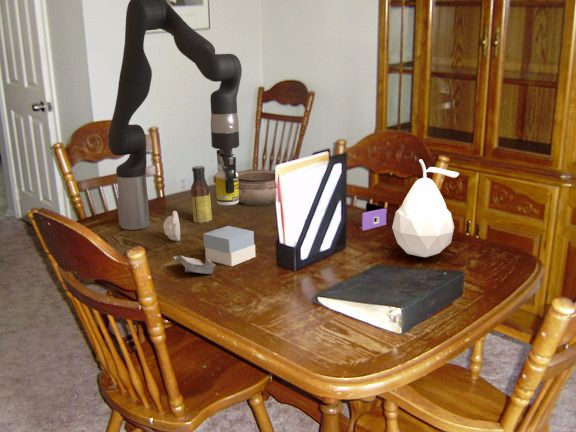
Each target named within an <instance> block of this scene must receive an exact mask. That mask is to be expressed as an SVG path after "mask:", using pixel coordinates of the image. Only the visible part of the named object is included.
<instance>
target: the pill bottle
mask: <svg viewBox="0 0 576 432" xmlns="http://www.w3.org/2000/svg"><path fill="white" fill-rule="evenodd" d="M224 167H225V166H224ZM225 168H226V167H225ZM218 170H219V171H218ZM238 173H239V172H237V171H236V178H235V179H234V193H226V186H225V174H224V172H223V171H222V166H221V163H220V164H218V163H217V172H216V173H215V194H216V203H217V204H218V205H221V206H232V205H233V206H234V205H237V204H238V203H240V202H239V188H238ZM229 174H232V173H231V172H229Z"/></svg>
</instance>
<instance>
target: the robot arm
mask: <svg viewBox="0 0 576 432" xmlns="http://www.w3.org/2000/svg"><path fill="white" fill-rule="evenodd" d="M125 13H126V14H125V28H124V30H125V33H124V46H123V54H122V61H121V62H122V63H121V68H120V73H119V79H118V87H117V93H116V101H115V106H114V111H113V113H112V118H111V122H110V125H109V129H108V134H107V146H108V148H109V151H110V153H111V154H113V155H114V156H126V155H129V156H128V158H126V160H125V161H124V162H122V163H121V164H119V165H117V167H116V168H115V169H116V170H115V172H116V183H117V196H118V197H117V198H116V202H117V213H118V224H119V227H120V228H121V229H122V230H132V231H133V230H135V231H136V230H142V229H146V228H148V227H150V224H151V223H150V213H149V199H148V187H147V186H148V185H147V172H146V170H147V164H148V163H147V160H148V159H147V139H146V133H145V130H144V128H143V127H142V126H141V125H140V124H129V123H130V121H131V120H132V119H131V118H132V117H133V115H134V114H135V112H137V111H138V109H139V108H140V107H141V106H142V104H143V103H144V102H145V101H146V99H147V97H148V96H149V92H150V91H151V90H150V89H151V84H152V83H151V82H152V77H153V70H152V67H151V65H150V62H149V59H148V57H147V56H146V52H145V49H144V46H145V45H144V43H145V36H146V32H147V31H155V30H156V31H157V30H162V31H165V32H166V33H168V34H170V35H171V36H172V37H173V40H174V41H173V42H174V44H175V46H176V48H177V49H178V50H179V52H180V53H181V54H182V55H183V56H185V58H187V59H188V60H190V61H191V62H192V63H194V65H195V66H196V68H197V69H198V70H199V72H200V73H201V75H202V76H203V77H204V78H205V79H207V80H208V81H211V82H215V83H217V82H219V83H220V84H219V88H218V89H216V90H214V91H213V92H211V94H210V97H209V99H210V101H209V102H210V136H211V137H210V138H211V139H210V141H211V147H212V148H213V149H216V159H217V160H216V161H217V165H218V164H220V163H221V166H222V171H223V172H224V174H225V186H226V193H234V179H235V178H236V172H237V161H236V160H237V157H236V156H235V154H233V149H237V148H239V146H240V130H239V127H240V125H239V116H238V100H237V97H238V94H239V90H240V89H239V88H240V84H241V79H242V71H243V70H242V68H243V67H242V64H241V60H240V59H239V58H238V56H237V55H236V54H234V53H216V49H215V45H214V44H213V43H212V42H210V41H209V40H208V39H207V38H205V37H204V36H203V35H201V34H200V33H199V32H197V31H196V30H194V29H193V28H192V27H191V26H190V25H189V24H188V23H187V22H186V21H185V20H184V19H183V18H182V16H180V15H179V13H177V11H175V9H174V8H173V7H172V6H171V5H170V4H169V3H168V2H167V1H166V0H129V1H128V4H127V8H126V12H125ZM224 166H225V167H226V168H225V167H224ZM217 172H219V170H218V169H217ZM229 172H231V173H232V174H229Z"/></svg>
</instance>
